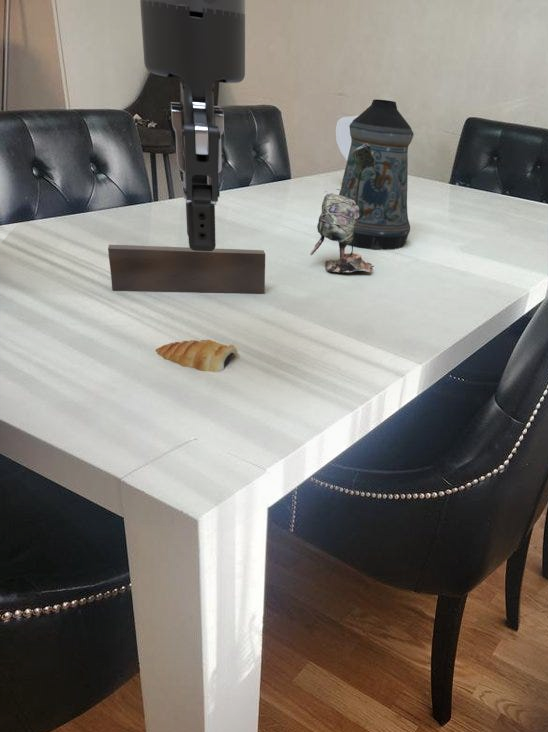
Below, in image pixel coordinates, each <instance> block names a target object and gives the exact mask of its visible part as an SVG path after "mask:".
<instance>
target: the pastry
mask: <svg viewBox="0 0 548 732" xmlns="http://www.w3.org/2000/svg"><path fill="white" fill-rule="evenodd" d="M155 352H156V354H157V355H158V356H160V357H162V358H163V359H164V360H167V361H169V362H172V363H174V364H177V365H179V366H180V367H184V368H190V369H195V370H197V371H200V372H211V373H221V372H223V371H224V370H225V369H226V368H227V366H228V365H229V363H230V361H231V359H238V358H240V353H239V350H238V348H237V347H236V346H235V345H234V344H230V345H226V344H223V343H220V342H217V341H214V340H211V339H201V340H196V339H191V340H183V341H181V342H180V341H175V342H170V343H167V344H163V345H162V346H159V347H157V348H156V349H155Z"/></svg>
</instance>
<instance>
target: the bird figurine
mask: <svg viewBox="0 0 548 732" xmlns="http://www.w3.org/2000/svg"><path fill="white" fill-rule="evenodd" d="M354 158H355V162H356V166H357V168H359V173H358V182H357V183H358V185H357V189H356V203H355V201H354V200H351V199H350V198H346V197H344V196H341V195H339V194H338V193H336V192H332V193H328V191H327V190H325V193H327V194H325V196H324V198H323V200H322V203H321V212H320V215H319V217H318V223H317V226H316V228H317V232H318V233H319V235H320V238H319V240H318V241H317V242H316V244H315V245H314V248H313V249H312V250H311V251H310V253H309V255H310V256H313V255H314V254H315V253H316V252H317V250H318V249H319V248H320V246H322V244H323V243H324V241H325V238H326V239H328V240H330V241H332V242H337V243H338V247H339V259H335V260H334V259H329V260H325V262H324V269H325V270H326V271H329V272H332V273H341V274H342V273H353V272H357V271H358V272H361V271H363V272H366V273H367V272H368V273H372V272H373V271H374V267H375V265H373V264H372V263H370V262H368V261H367V262H366V261H365V260H363V259H362V254H358V253H355V252H353V251H354V246H353V240H354V231H355V226H356V223H357V220H358V218H359V207H358V192H359V183H360V179H361V174H362V169H365V168H366V167H372V168H373V170H374V171H376V168H375V165H374V162H375V158H374V154H373V152H372V149H371V147H370V145H369V144H367V143H366V144H365V145H363V146H360V147H358V148H357V149H355V150H354ZM351 242H352V246H351V252H350V253H349V252H348V253H345V251H346V248H347V246H349V245H348V244H349V243H351Z"/></svg>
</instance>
